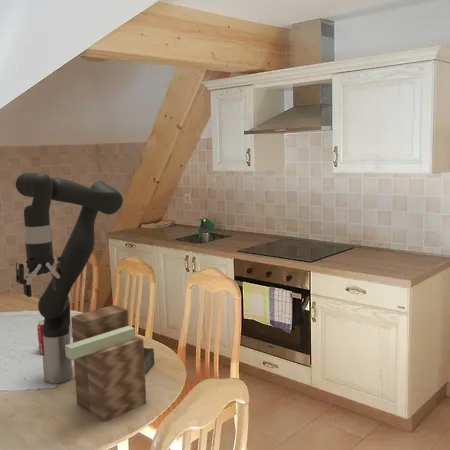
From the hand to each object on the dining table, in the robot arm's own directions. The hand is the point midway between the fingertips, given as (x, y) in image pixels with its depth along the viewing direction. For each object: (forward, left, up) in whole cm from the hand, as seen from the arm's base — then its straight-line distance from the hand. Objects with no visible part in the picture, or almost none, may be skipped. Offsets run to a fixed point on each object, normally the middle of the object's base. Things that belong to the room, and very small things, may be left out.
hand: (42, 293), depth 158 cm
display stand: (+17, +8, -40) cm, 44 cm away
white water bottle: (-16, +68, -41) cm, 81 cm away
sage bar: (+16, +2, -18) cm, 24 cm away
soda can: (-18, +53, -40) cm, 69 cm away
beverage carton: (+21, +32, -41) cm, 56 cm away
